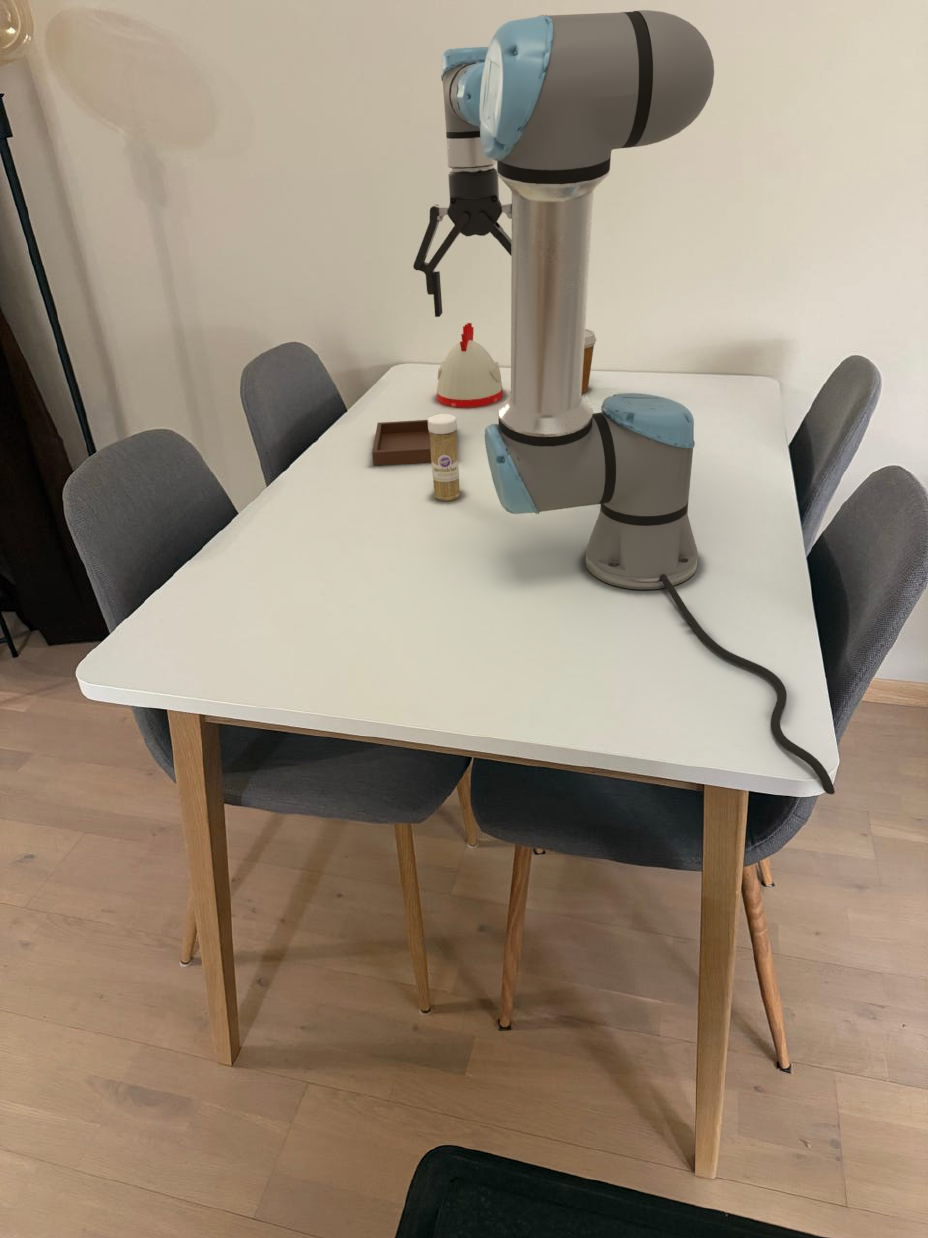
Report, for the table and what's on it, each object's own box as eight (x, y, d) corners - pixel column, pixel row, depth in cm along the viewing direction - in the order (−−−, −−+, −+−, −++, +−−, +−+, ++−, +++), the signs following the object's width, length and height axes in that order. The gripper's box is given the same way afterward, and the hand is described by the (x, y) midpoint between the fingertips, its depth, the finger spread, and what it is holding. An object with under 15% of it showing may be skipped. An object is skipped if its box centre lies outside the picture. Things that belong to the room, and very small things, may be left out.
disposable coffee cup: (542, 388, 195) (541, 332, 188) (580, 380, 198) (581, 324, 191) (564, 400, 187) (565, 342, 181) (604, 392, 190) (605, 334, 184)
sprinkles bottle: (438, 503, 147) (431, 424, 140) (430, 493, 151) (424, 415, 144) (464, 498, 148) (459, 419, 141) (456, 488, 152) (451, 411, 145)
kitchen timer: (508, 387, 197) (506, 316, 189) (494, 408, 185) (491, 334, 178) (447, 385, 200) (442, 316, 192) (430, 406, 189) (424, 333, 181)
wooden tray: (454, 460, 162) (453, 447, 161) (373, 465, 163) (372, 452, 161) (453, 430, 176) (452, 417, 174) (379, 435, 176) (377, 422, 174)
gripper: (557, 161, 137) (558, 306, 148) (397, 170, 141) (409, 310, 152) (554, 166, 130) (555, 317, 141) (386, 175, 134) (400, 321, 145)
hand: (479, 314), depth 147 cm, fingers open, 13 cm apart
